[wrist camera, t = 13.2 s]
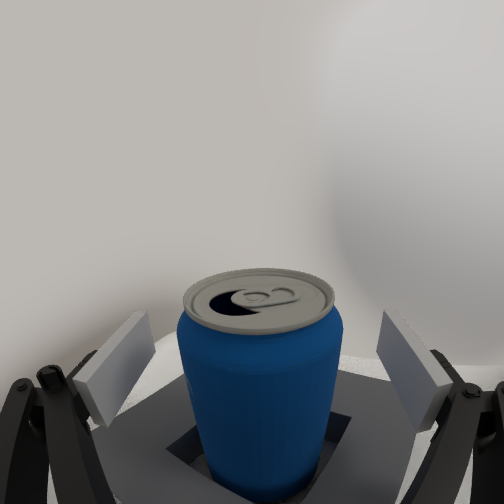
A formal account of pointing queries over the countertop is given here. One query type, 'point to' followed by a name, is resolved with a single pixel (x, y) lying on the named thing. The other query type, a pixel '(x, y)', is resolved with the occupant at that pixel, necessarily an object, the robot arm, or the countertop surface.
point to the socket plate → (222, 500)
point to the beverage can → (261, 376)
